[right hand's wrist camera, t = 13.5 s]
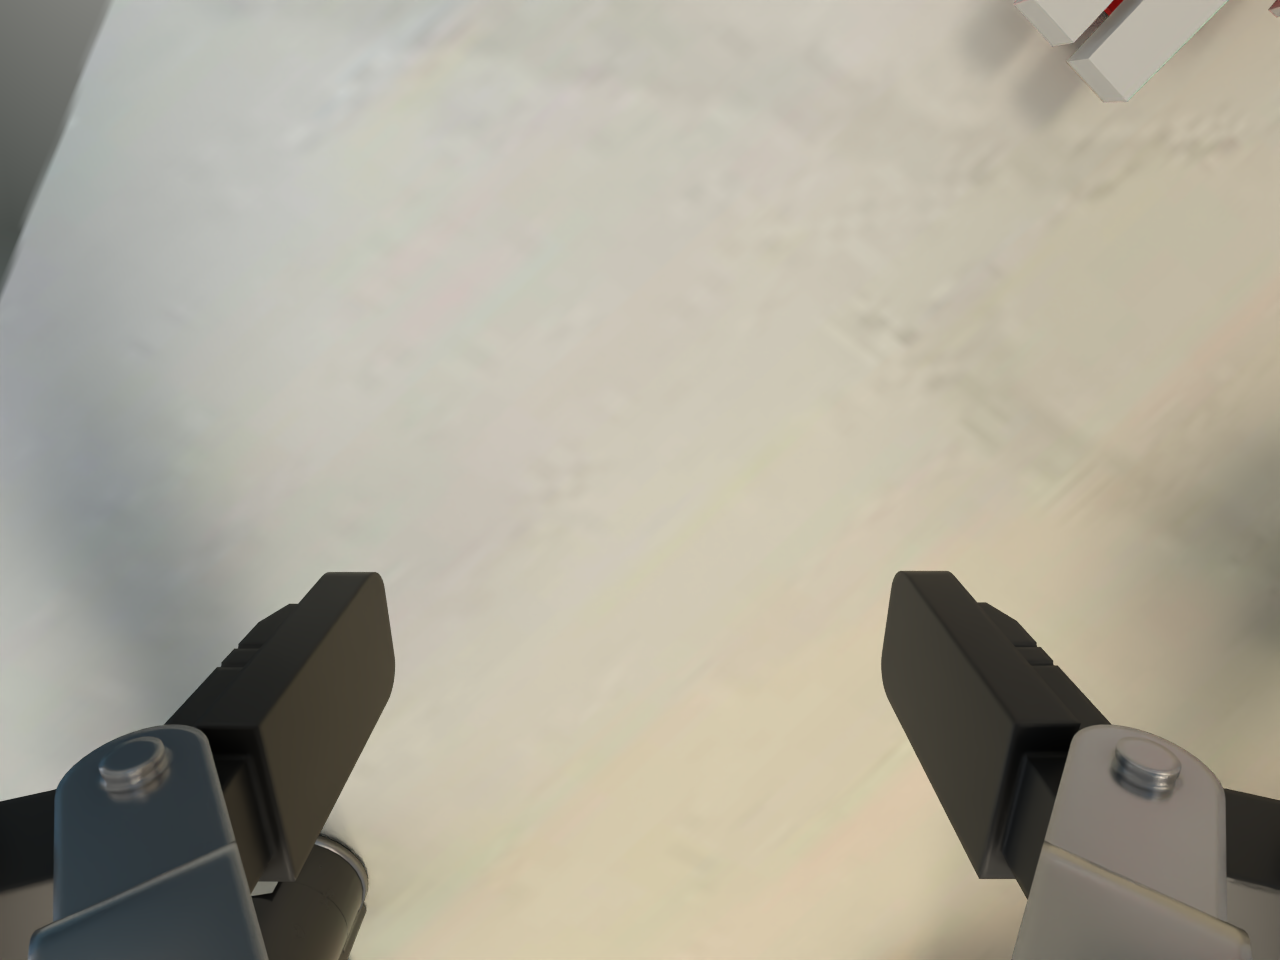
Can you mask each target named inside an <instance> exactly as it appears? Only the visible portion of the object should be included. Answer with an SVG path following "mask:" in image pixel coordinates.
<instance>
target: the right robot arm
mask: <svg viewBox="0 0 1280 960" xmlns="http://www.w3.org/2000/svg"><path fill="white" fill-rule="evenodd" d="M238 645H239V646H238V649H234V650H233V651H232V652H231V653H230V654H229V655H228V656H227V657H226V658H225V659H224V660H223V661H222V665H221V667H217V668H216V669H215V670H214V671H213V672H212V673H211V674H210V676H209V677H208V678H207V679H206V680H205V681H204V682H203V683H202V684H201V685H200V686H199V687H198V689H197V690H196V691H195V692H194V693H193V694H192V695H191V696H190V697H189V698H188V699H187V700H186V702H185V703H184V704H183V705H182V706H181V707H180V708H179V709H178V710H177V711H176V712H175V713H174V715H173V716H172V717H171V718H170V719H169V720H168V721H167V722H166V723H165V724H164V725H162V726H155V727H150V728H146V729H142V730H138V731H135V732H132V733H129V734H126V735H124V736H121V737H119V738H117V739H114V740H112V741H110V742H108V743H106V744H104V745H103V746H101V747H99V748H97V749H96V750H94V751H92V752H91V753H89V754H88V755H87V756H85V757H84V758H82V759H81V760H80V761H79V762H78V763H76V764H75V765H74V766H73V767H72V768H71V769H70V770H69V771H68V772H67V773H66V774H65V776H64V777H63V778H62V780H61V781H60V783H59V785H58V787H57V789H55V790H51V791H47V792H42V793H37V794H33V795H28V796H24V797H19V798H14V799H10V800H5V801H1V802H0V960H347V959H348V957H349V954H350V952H351V949H352V946H353V944H354V941H355V939H356V936H357V934H358V931H359V928H360V926H361V923H362V921H363V918H364V916H365V913H366V908H365V906H364V904H363V902H364V900H365V897H366V895H367V891H368V879H367V875H366V872H365V869H364V867H363V866H362V864H361V863H360V861H359V860H358V859H357V858H356V857H355V855H354V854H352V853H351V852H350V851H349V850H348V849H346V848H345V847H343V846H342V845H340V844H338V843H337V842H335V841H333V840H330V839H328V838H325V837H322V836H319V834H320V832H321V830H322V828H323V826H324V824H325V822H326V820H327V818H328V817H329V815H330V813H331V811H332V809H333V807H334V805H335V803H336V801H337V799H338V797H339V795H340V793H341V791H342V789H343V787H344V785H345V783H346V781H347V780H348V778H349V776H350V774H351V772H352V770H353V768H354V766H355V764H356V762H357V760H358V758H359V756H360V754H361V752H362V750H363V748H364V746H365V744H366V742H367V741H368V739H369V737H370V735H371V733H372V731H373V729H374V727H375V725H376V723H377V721H378V719H379V717H380V715H381V713H382V711H383V709H384V707H385V705H386V704H387V702H388V699H389V697H390V694H391V691H392V688H393V683H394V675H395V657H394V649H393V643H392V636H391V629H390V622H389V615H388V608H387V601H386V595H385V588H384V583H383V580H382V578H381V576H380V575H379V574H378V573H376V572H327V573H325V574H324V575H323V576H322V577H321V578H320V579H319V580H318V582H317V583H316V584H315V585H314V586H313V587H312V589H311V590H310V591H309V592H308V593H307V594H306V595H305V597H304V598H303V599H302V600H301V601H300V602H299V604H288V605H287V606H285V607H283V608H282V609H280V610H278V611H277V612H275V613H273V614H272V615H270V616H268V617H267V618H265V619H263V620H262V621H260V622H258V624H257V625H256V626H255V627H254V628H253V629H252V630H251V631H250V632H249V633H248V634H247V635H246V637H245V638H244V639H243V640H242V641H241V642H240V643H239V644H238ZM881 670H882V679H883V685H884V689H885V692H886V695H887V698H888V700H889V702H890V704H891V706H892V708H893V710H894V712H895V714H896V716H897V717H898V719H899V721H900V723H901V725H902V727H903V729H904V731H905V733H906V735H907V737H908V739H909V741H910V743H911V745H912V747H913V749H914V751H915V753H916V755H917V757H918V759H919V761H920V763H921V765H922V767H923V769H924V771H925V773H926V775H927V777H928V779H929V781H930V783H931V785H932V787H933V788H934V790H935V792H936V794H937V796H938V798H939V800H940V802H941V804H942V806H943V808H944V810H945V812H946V814H947V816H948V818H949V820H950V822H951V824H952V826H953V828H954V830H955V832H956V834H957V836H958V838H959V840H960V842H961V844H962V846H963V848H964V850H965V852H966V854H967V856H968V858H969V860H970V861H971V863H972V865H973V867H974V869H975V871H976V873H977V875H978V877H979V879H1016V880H1017V882H1018V884H1019V885H1020V887H1021V889H1022V891H1023V892H1024V894H1025V896H1026V898H1027V900H1028V901H1027V904H1026V908H1025V912H1024V915H1023V919H1022V923H1021V926H1020V930H1019V934H1018V937H1017V941H1016V945H1015V948H1014V952H1013V955H1012V959H1011V960H1280V800H1275V799H1271V798H1266V797H1262V796H1257V795H1252V794H1248V793H1243V792H1238V791H1234V790H1229V789H1225V788H1223V787H1222V785H1221V783H1220V781H1219V780H1218V778H1217V777H1216V776H1215V774H1214V773H1213V772H1212V771H1211V770H1210V769H1209V768H1208V767H1207V766H1206V765H1205V764H1204V763H1202V762H1201V761H1200V760H1199V759H1198V758H1196V757H1195V756H1193V755H1192V754H1191V753H1189V752H1188V751H1186V750H1184V749H1183V748H1181V747H1179V746H1177V745H1176V744H1174V743H1172V742H1170V741H1168V740H1166V739H1163V738H1161V737H1159V736H1156V735H1154V734H1151V733H1148V732H1145V731H1142V730H1138V729H1134V728H1130V727H1125V726H1118V725H1111V723H1110V722H1109V721H1108V720H1107V719H1106V718H1105V717H1104V716H1103V715H1102V714H1101V713H1100V711H1099V710H1098V709H1097V708H1096V707H1095V706H1094V705H1093V704H1092V703H1091V702H1090V701H1089V699H1088V698H1087V697H1086V696H1085V695H1084V694H1083V693H1082V692H1081V691H1080V690H1079V689H1078V687H1077V686H1076V685H1075V684H1074V683H1073V682H1072V681H1071V680H1070V679H1069V678H1068V676H1067V675H1066V674H1065V673H1064V672H1063V671H1062V670H1061V669H1060V668H1059V667H1058V666H1054V665H1053V660H1052V659H1051V658H1050V657H1049V656H1048V655H1047V654H1046V652H1045V651H1044V650H1043V649H1042V648H1041V647H1037V645H1036V642H1035V640H1034V639H1033V638H1032V637H1031V636H1030V635H1029V634H1028V633H1027V632H1026V631H1025V630H1024V628H1023V627H1022V626H1021V625H1020V624H1019V623H1018V622H1017V621H1016V620H1014V619H1013V618H1011V617H1009V616H1008V615H1006V614H1004V613H1003V612H1001V611H999V610H998V609H996V608H994V607H993V606H991V605H989V604H988V603H977V602H976V601H975V599H974V598H973V597H972V596H971V595H970V594H969V592H968V591H967V590H966V589H965V588H964V587H963V585H962V584H961V583H960V582H959V581H958V580H957V578H956V577H955V576H954V575H953V574H952V573H951V572H949V571H899V572H898V573H897V574H896V575H895V577H894V579H893V583H892V588H891V594H890V601H889V608H888V615H887V622H886V629H885V636H884V643H883V650H882V658H881Z"/></svg>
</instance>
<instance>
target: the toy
mask: <svg viewBox="0 0 1280 960" xmlns="http://www.w3.org/2000/svg"><path fill="white" fill-rule="evenodd" d="M1227 1H1228V0H1016V2H1015V3H1014V6H1015V7H1016V8H1017V9H1018V10H1019V11H1020V12H1021V13H1022V14H1023V15H1024V16H1025V18H1026V19H1027V20H1028V21H1029V22H1030V23H1031V24H1032V25H1033V26H1034V27H1035V28H1036V30H1037V31H1038V32H1039V33H1040V34H1041V35H1042V36H1043V37H1044V38H1045V39H1046V40H1047V42H1048V43H1049V44H1050V45H1051V46H1052V47H1054V46H1059V45H1064V44H1070V43H1074V42H1075V41H1076V40H1077V39H1078V38H1079V37H1080V36H1081V35H1082V33H1083V32H1084V31H1085V30H1086V29H1087V28H1088V27H1089V26H1090V25H1091V24H1092V23H1093V22H1094V21H1095V19H1096V18H1097V17H1098V16H1099V15H1100V14H1101V13H1102V12H1103V11H1105V12H1106V13H1107V14H1108V18H1107V19H1106V20H1105V21H1104V22H1103V23H1102V24H1101V25H1100V26H1099V27H1098V28H1097V29H1096V30H1095V31H1094V32H1093V34H1092V35H1091V36H1090V37H1089V38H1088V39H1087V40H1086V41H1085V42H1084V43H1083V44H1082V45H1081V46H1080V47H1079V49H1078V50H1077V51H1076V52H1075V53H1074V54H1073V55H1072V56H1071V57H1070V58H1069V59H1068V60H1067V61H1066V62H1067V63H1068V64H1069V66H1070V67H1071V68H1072V69H1073V70H1074V71H1075V72H1076V73H1077V74H1078V75H1079V76H1080V78H1081V79H1082V80H1083V81H1084V82H1085V83H1086V84H1087V85H1088V86H1089V87H1090V88H1091V90H1092V91H1093V92H1094V93H1095V94H1096V95H1097V96H1098V97H1099V98H1100V99H1101V100H1102V102H1128V101H1129V100H1130V99H1131V98H1132V97H1133V96H1134V95H1135V94H1136V93H1137V92H1138V91H1139V90H1140V89H1141V88H1142V87H1143V86H1144V85H1145V84H1146V83H1147V82H1148V81H1149V80H1150V79H1151V78H1152V77H1153V76H1154V75H1155V74H1156V73H1157V72H1158V71H1159V70H1160V69H1161V68H1162V67H1163V66H1164V65H1165V64H1166V63H1167V62H1168V61H1169V60H1170V59H1171V58H1172V57H1173V56H1174V55H1175V54H1176V53H1177V52H1178V51H1179V50H1180V49H1181V48H1182V47H1183V46H1184V45H1185V44H1186V43H1187V42H1188V41H1189V40H1190V39H1191V38H1192V37H1193V36H1194V35H1195V33H1196V32H1197V31H1198V30H1199V29H1200V28H1201V27H1202V26H1203V25H1204V24H1205V23H1206V22H1207V21H1208V20H1209V19H1210V18H1211V17H1212V16H1213V15H1214V14H1215V13H1216V12H1217V11H1218V10H1219V9H1220V8H1221V7H1222V6H1223V5H1224V4H1225V3H1226V2H1227ZM1269 11H1270V12H1271V13H1272V14H1274V15H1275V16H1276V17H1280V0H1276V1H1275V3H1274V4H1273V5H1272V6H1271V7H1270V8H1269Z"/></svg>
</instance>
